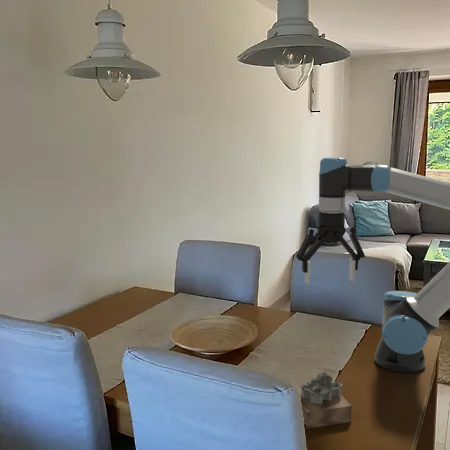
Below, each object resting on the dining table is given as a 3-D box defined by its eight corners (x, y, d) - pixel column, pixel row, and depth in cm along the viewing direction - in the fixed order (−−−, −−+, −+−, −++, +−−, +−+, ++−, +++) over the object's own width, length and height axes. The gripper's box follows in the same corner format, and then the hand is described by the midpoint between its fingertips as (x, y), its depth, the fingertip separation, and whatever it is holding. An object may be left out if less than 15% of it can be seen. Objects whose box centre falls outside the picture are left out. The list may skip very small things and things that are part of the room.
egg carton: (326, 384, 139) (326, 370, 138) (346, 395, 133) (346, 381, 132) (296, 394, 134) (296, 380, 133) (315, 407, 127) (316, 392, 127)
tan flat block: (327, 396, 142) (327, 380, 141) (351, 424, 129) (351, 405, 128) (286, 402, 139) (287, 385, 138) (306, 430, 126) (307, 412, 125)
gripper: (367, 208, 152) (364, 276, 156) (286, 210, 149) (285, 280, 153) (378, 211, 145) (375, 283, 149) (293, 214, 142) (292, 287, 145)
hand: (329, 281), depth 151 cm, fingers open, 13 cm apart
